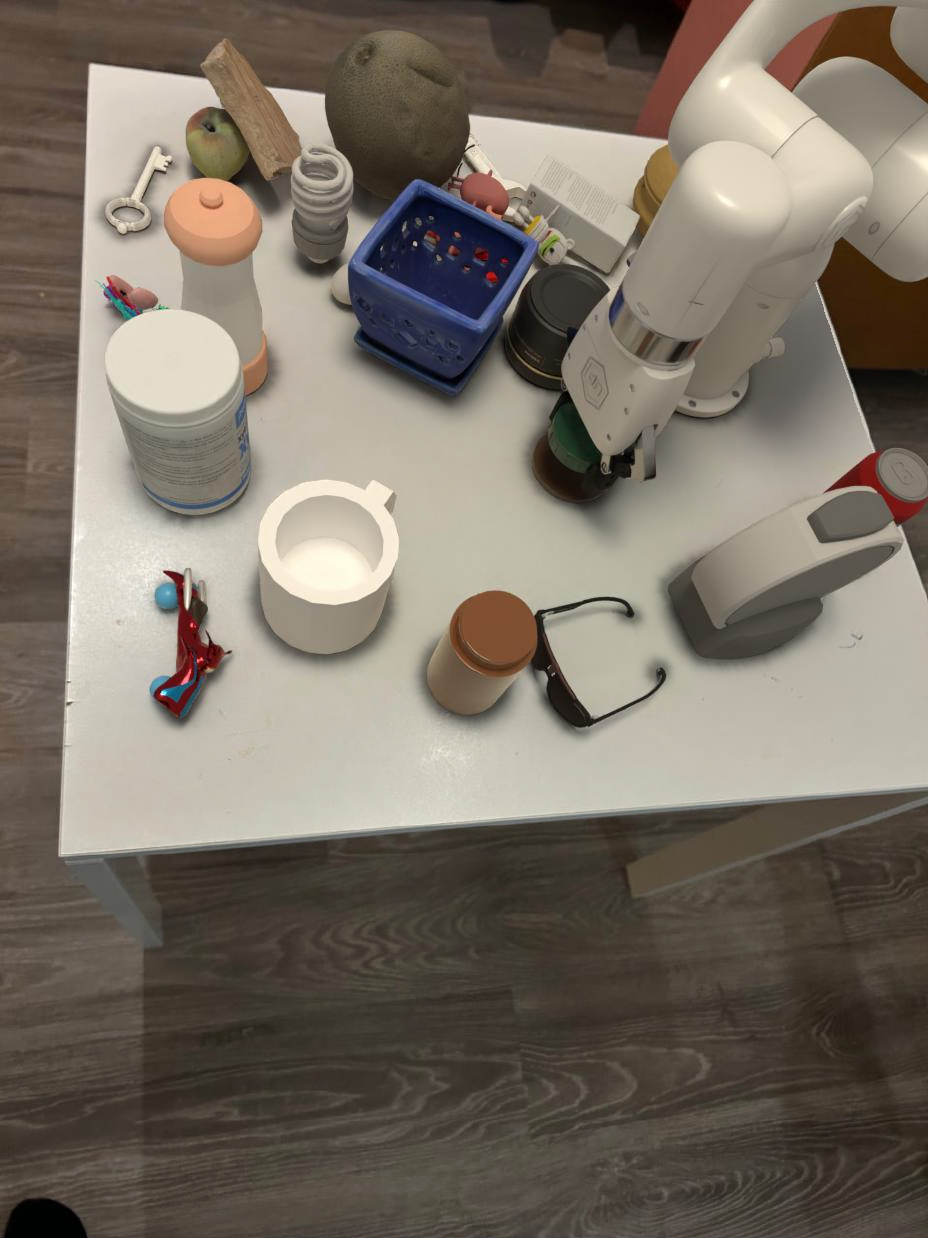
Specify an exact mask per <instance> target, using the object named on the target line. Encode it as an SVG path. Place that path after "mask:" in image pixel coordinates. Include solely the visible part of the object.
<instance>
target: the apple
mask: <svg viewBox="0 0 928 1238" xmlns="http://www.w3.org/2000/svg"><path fill="white" fill-rule="evenodd" d="M185 144H186V150H187V152H188V154H189V156H190V159H191V161H192V163H193V165H194V167H195V168H196V169H197V170H198V171H199V172H201V174H203V175H204V176H205V178H215V179H220V180H224V181H227V182H229V181H230V179H231V178H233V177H234V176H236V174H237V173H239V172H240V171H241V170H242V168H243V167H244V166H245V164H246V162H247V160H248V158H249V155H250V149H249V146H248V144H247V142H246V140H245V139H244V136H243V135H242V133H241V131H240V129H239V127H238V126H237V124H236V123H235V121H234V120H233V118H232V117H231V115H230V114H229V113H228V112H227V111H226V110H225V109H224V108H220V107H219V108H218V107H215V106H205V107H203V108H200V109H199V110H197V111H196V112H195V113H194V114H192V115H191V116H190V117H189V119H188V121H187V122H186V126H185Z"/></svg>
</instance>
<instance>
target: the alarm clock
mask: <svg viewBox="0 0 928 1238" xmlns="http://www.w3.org/2000/svg"><path fill="white" fill-rule="evenodd" d="M822 493H823V494H822ZM822 493H820V494H816V495H814V496H811V497H808V498H806V499H804V500H803V499H802V500H801V501H799V502H796V503H794V504H791V505H789V506H786V507H785V508H782V509H780V510H778V511H776V512H774V513H771V514H770V515H768V516H765V517H763V518H761V519H759V520H758V521H756V522H754V523H752V524H751V525H749V526H747V527H745V528H743V529H741V530H740V531H738V532H736V533H735V534H734V535H732V536H730V537H729V538H727V539H726V540H724V541H723V542H721V543H719V544H718V545H717V546H716V547H715V548H713V549H712V550H711V551H709V553H706V554H705V555H703V556H702V557H700V558H699V559H697V560H696V561H694V562H693V563H692V564H690V565H689V566H688V567H687V568H685V569H684V570H683V571H682V572H681V573H680V574H678V575H677V576H676V577H675V578H674V579H672V581H671V582H670V583H669V584H668V588H667V592H668V594H669V597H670V599H671V600H672V602H673V604H674V607H675V609H676V611H677V613H678V615H679V617H680V619H681V622H682V624H683V626H684V628H685V631H686V632H687V635H688V636H689V639H690V641H691V643H692V645H693V647H694V650H695V652H696V653H697V654H698V655H699V656H701V657H702V658H709V659H716V660H726V659H728V660H729V659H743V658H748V657H752V656H756V655H760V654H764V653H766V652H768V651H771V650H773V649H774V648H777V647H779V646H781V645H783V644H784V643H786V642H787V641H789V640H791V639H792V638H793V637H794V636H796V635H797V634H799V633H800V632H801V631H803V630H805V629H806V628H807V627H809V626H810V625H811V624H812V623H813V622H814V621H816V619H818V617H819V616H820V615H822V613H823V609H824V603H823V601H822V600H821V599H822V598H824V597H826V596H828V595H830V594H832V593H834V592H836V591H838V590H840V589H842V588H845V587H846V586H848V585H850V584H852V583H854V582H856V581H858V580H859V579H861V578H863V577H865V576H866V575H868V574H869V573H871V572H873V571H875V570H876V569H878V568H880V567H881V566H882V565H884V564H885V563H886V562H888V561H890V559H893V557H895V556H896V555H897V553H898V552H900V551H901V549H902V547H903V544H904V541H905V538H904V537H903V534H902V533H901V532H900V530H899V527H897V526H896V524H895V523H894V521H893V520H894V516H893V514H892V513H891V511H890V509H889V507H888V506H887V504H886V502H885V500H884V499H883V497H882V495H881V494H878V493H877V491H876V490H874V489H873V488H872V487H868V486H851V487H846V488H841V489H836V490H833V491H829V492H826V493H824V492H822Z"/></svg>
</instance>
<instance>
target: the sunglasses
mask: <svg viewBox="0 0 928 1238" xmlns="http://www.w3.org/2000/svg"><path fill="white" fill-rule="evenodd" d="M595 602H616V603H620V604H622V605H623V606H625V608H626V615H627V616H628V617H629V618H633V617H634V616H635V611H634V609H633V608H632V606H631V604H630V603H629V602H628V601H627V600H625V599H623V598H620V597H616V596H596V597H595V596H594V597H590V598H586V599H582V600H581V601H575V602H571V603H568V604H563V605H557V606H554V607H551V608H546V609H544V608H543V609H538V610H537V611H536V612H535V614H533V615H534V618H535V620H536V625H537V647H536V651H535V654H534V656H533V658H532V659H531V661H530V662H531V665H532V666H531V667H532V668H533V669H534V670H536V671H539V672H544V673H545V675H546V678H547V681H546V685H545V687H546V688H545V690H546V697H547V699H548V702H549V703H550V705H551V706H552V708H553V709H554V710H555V711H556V713H557V714H558V715H559V716H560V717H561V718H563V720H564V721H566V722H567V723H569V724H570V725H571V726H573V727H575V728H578V729H584V728H590V727H593V726H594V725H596V724H599V723H600V722H603V721H605V720H607V719H609V718H611V717H614V716H615V715H617V714H619V713H621V712H623V711H625V710H627V709H629V708H631V707H633V706H635V705H637V704H639V703H641V702H643V701H645V700H647V699H648V698H650V697H651V696H653V695H654V694H655V693H656V692H658V690H659V689H660V688H661V687H662V685H664V683H665V681H666V679H667V673H666V670H665V669H664V667H661V666H660V667H658V669H657V671H656V672H657V674H658V675H659V676H661V678H660V681H659V682H658V683H657V684H656V686H655V687H654V688H653V689H651V690H650V691H648V693H646V694H645V695H644V696H640V697H639V698H637V699H635V700H633V701H631V702H629V703H627V704H625V705H623V706H621V707H618V708H616V709H614V710H612V711H610V712H608V713H606V714H605V713H603V714H600V715H597V714H593V715H591V714H590V712H589V711H588V710H587V708H586V707H585V706H584V704H583V703H582V702H581V701H580V699H578V697H577V695H576V692H574V690H573V689H572V687H571V686H570V684H569V682H568V681H567V678H566V676H565V675H564V674H563V673H564V672H563V671H562V669H561V667H560V665H559V663H558V661H557V658H556V656H555V654H554V652H553V650H552V647H551V644H550V641H549V638H548V635H547V633H546V630H545V623H544V620H545V619H546V618H547V617H549V616H552V615H556V614H560V613H565V612H569V611H572V610H575V609H578V608H579V607H581V606H583V605H586V604H591V603H595Z"/></svg>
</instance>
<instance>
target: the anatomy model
mask: <svg viewBox="0 0 928 1238" xmlns="http://www.w3.org/2000/svg"><path fill="white" fill-rule="evenodd" d="M105 278H106V281H107V283H108V285H107V286H106V285H105V283H103V282H102V284H101V282H100V281H98V280H96V279H95V280H94V281H95V283H97V284H98V285H99V287H100V288H102V289H103V297H105V298H106V299H107V301H108V302H112V304H113V306H114V307H115V308H116V309H117V310H118V311H120V312H121V314H122V315H123V316H122V317H123V319H124V320H126V322H127V321H128V320H130V319H132V318H133V317H135V316H138V315H140V314H143V312H144V311H146V310H150V309H151V311H155V310H163V309H170V307H168V306H165V305H161V303H159V297H158V296H157V295H156V294H155V293H153V292H152V291H151V290H148V289H146V288H144V287H135V288H134V287H133V286H132V285H131V284H130V283H129V282H127V281H126V280H125V279H123V278H122V277H119V276H118V275H115V274H111V275H110V276H109V275H107V276H106V277H105ZM157 305H158V308H157V307H156V306H157ZM155 307H156V308H155Z"/></svg>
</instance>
